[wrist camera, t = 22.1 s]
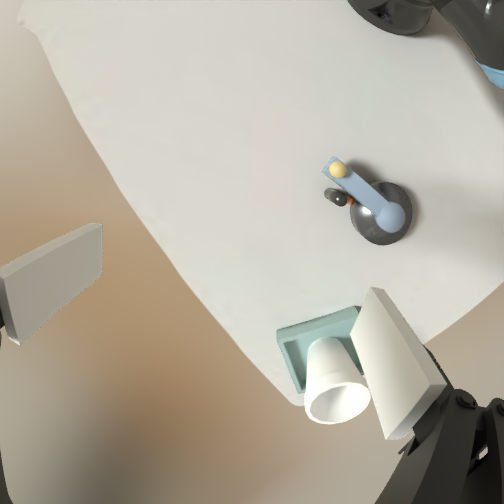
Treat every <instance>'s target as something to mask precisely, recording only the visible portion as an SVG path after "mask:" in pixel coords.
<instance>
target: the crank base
mask: <svg viewBox="0 0 504 504" xmlns="http://www.w3.org/2000/svg"><path fill="white" fill-rule="evenodd" d="M368 184H369V185H370V186H371V187H372V188H373V189H374V190H376V191H377V192H378V193H379V194H380V195H381V196H382V197H383V198H384V199H385V200H387V201H391V202H394V203H396V204H399V205H400V206H401V207H402V208H403V210H404V212H405V222H404V225H403V226H402V228H401V229H400V230H399V231H397V232H394V233H389V232H386V231H385V230H383V229H382V228H380V227H379V226H378V225H377V224H376V223H375V220H374V214H373V213H371V212H370V211H369V210H368V209H367V208H366V207H364V206H363V205H362V204H361V203H360V202H359V201H357V200H356V199H355V198H354V197H353V198H352V197H349V196H346V195H345V194H343V193H341V192H338V191H336V190H334V189H332V188H328V189H326V191H325V193H324V194H325V197H326V198H327V199H329V200H330V201H332V202H333V203H335V204H336V205H338V206H344V205H346V203H348V204H351V207H350V215H351V220H352V223H353V225H354V227H355V229H356V230H357V231H358V232H359V233H360V234H361V235H362V236H363V237H365V238H366V239H367V240H368V241H370V242H371V243H374V244H377V245H389V244H392V243H395V242H396V241H398V240H399V239H401V238H402V237H403V236H404V234H405V233H406V232H407V230H408V228H409V226H410V223H411V219H412V206H411V202H410V199H409V197H408V195H407V194H406V192H405V191H404V190H403V189H402V188H400V187H399V186H397V185H395V184H393V183H388V182H384V181H372V182H369V183H368Z"/></svg>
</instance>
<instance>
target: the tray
mask: <svg viewBox="0 0 504 504" xmlns="http://www.w3.org/2000/svg"><path fill="white" fill-rule="evenodd" d="M358 315H359V313H358V311H357V309H356V308H355V306H352V307H349V308H346V309H343V310H340V311H337V312H334V313H331V314H328V315H325V316H322V317H319V318H316V319H313V320H309V321H306V322H303V323H299V324H296V325H293V326H289V327H286V328H282V329H279V330H277V342H278V345H279V347H280V350H281V352H282V354H283V357H284V359H285V362H286V364H287V367H288V369H289V372H290V374H291V377H292V379H293V382H294V384H295V387H296V389H297V392H298V394H301V393H305V392H306V377H307V355H308V349H309V347H310V346H311V344H312V343H313V342H314V341H316V340H318V339H319V338H323V337H333V338H336V339H338V340H339V341H340V342H341V343H342V344H343V346H344V348H345V349H346V351H347V353H348V354H349V356H350V358H351V359H352V361H353V362H354V364H355V366H356V367H357V369H358V371H359V372H360V374H361V375H364V371H363V369H362V366H361V363H360V360H359V357H358V355H357V352H356V349H355V346H354V344H353V341H352V338H351V336H350V333H351V331H352V328H353V326H354V324H355V322H356V319H357V317H358Z"/></svg>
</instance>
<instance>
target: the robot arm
mask: <svg viewBox="0 0 504 504" xmlns="http://www.w3.org/2000/svg"><path fill="white" fill-rule="evenodd" d="M348 2H349V3H350V5H351V6H352V7H353V9H354V10H355V11H356V12H357V13H358V14H359V15H361V16H362V17H363V18H364V19H366V20H367V21H368V22H370V23H371V24H373V25H375V26H377V27H378V28H381V29H383V30H385V31H388V32H391V33H394V34H400V35H410V34H414V33H416V32H418V31H420V30H421V29H422V28H424V27H425V26H426V24H427V23H428V21H429V18H430V14H431V12H432V9H433V7H435V8H436V9H437V10H438V11H439V12H440V14H441V15H442V16H443V17H444V18H445V19H446V21H447V22H448V23H449V24H450V25H451V27H452V28H453V29H454V30H455V32H456V33H457V34H458V36H459V37H460V38H461V40H462V41H463V42H464V44H465V45H466V47H467V48H468V49H469V51H470V52H471V54H472V55H473V57H474V60H475V62H476V63H477V64H478V65H480V67H481V68H482V70H483V71H484V73H485V74H486V76H487V77H488V79H489V80H490V81H491V82H492V83H493V84H494V85H496V86H497V87H499V88H501V89H504V0H348ZM102 237H103V225H100V224H97V223H92V222H90V223H88V224H86V225H84V226H82V227H79V228H77V229H75V230H73V231H71V232H69V233H67V234H64V235H62V236H60V237H58V238H56V239H54V240H52V241H50V242H48V243H46V244H44V245H42V246H40V247H38V248H36V249H34V250H32V251H30V252H28V253H26V254H24V255H22V256H20V257H19V258H17V259H15V260H13V261H12V262H9V263H8V264H6V265H4V266H2V267H1V268H0V328H2V327H3V326H4V325H5V328H6V332H7V335H8V338H9V339H11V340H12V341H14V342H15V343H17V344H18V345H20V346H21V345H22V344H23V343H24V342H25V341H26V340H27V339H28V338H29V337H30V336H31V335H33V334H34V333H35V332H36V331H37V330H38V329H39V328H40V327H41V326H42V325H44V324H45V323H46V322H47V321H48V320H49V319H50V318H51V317H53V316H54V315H55V314H56V313H57V312H58V311H60V310H61V309H62V308H63V307H64V306H65V305H67V304H68V303H69V302H70V301H71V300H72V299H74V298H75V297H76V296H77V295H79V293H81V292H82V291H83V290H85V289H86V288H87V287H88V286H89V285H91V284H92V283H93V282H94V281H96V280H97V279H98V278H99V277H101V276H102ZM350 336H351V338H352V341H353V344H354V346H355V349H356V352H357V355H358V357H359V360H360V363H361V366H362V369H363V371H364V374H365V377H366V380H367V383H368V386H369V389H370V392H371V395H372V398H373V401H374V404H375V407H376V410H377V413H378V417H379V420H380V423H381V426H382V430H383V433H384V436H385V439H386V440H390V439H402V438H404V437H405V435H406V434H407V433H408V432H409V431H410V430H411V429H412V428H413V431H414V433H415V436H414V437H413V438H412V439H411V440H410V441H409V442H408V443H407V444H406V445H405V446H404V447H403V448H402V449H401V450H400V451H399V452H398V454H401V453H402V452H403V451H405V452H404V454H403V456H402V458H401V460H400V462H399V463H398V465H397V467H396V469H395V471H394V473H393V474H392V476H391V478H390V480H389V481H388V483H387V485H386V487H385V488H384V490H383V491H382V493H381V494H380V496H379V498H378V499H377V501H376V502H375V504H504V400H502V399H500V398H495V399H493V400H492V401H491V402H490V404H489V405H488V406H487V407H486V408H485V407H480V406H478V404H477V402H476V400H475V399H474V397H473V396H472V395H470V394H469V393H468V392H466V391H464V390H462V389H455V390H454V388H453V386H452V385H451V383H450V381H449V380H448V378H447V376H446V375H445V373H444V372H443V370H442V369H440V365H439V364H438V362H436V359H435V358H434V356H433V354H432V353H431V352H430V351H429V350H428V349H427V348H426V347H425V346H424V345H423V344H422V343H421V342H420V340H419V339H418V337H417V336H416V334H415V333H414V331H413V330H412V328H411V327H410V326H409V324H408V323H407V321H406V320H405V318H404V317H403V316H402V314H401V313H400V311H399V310H398V309H397V307H396V306H395V304H394V303H393V302H392V300H391V299H390V297H389V296H388V295H387V293H386V292H385V291H384V290H383V289H379V288H374V287H370V288H369V291H368V293H367V296H366V298H365V301H364V303H363V306H362V308H361V310H360V313H359V315H358V317H357V319H356V322H355V324H354V326H353V328H352V331H351V333H350ZM1 338H2V337H1V332H0V346H1ZM486 447H488V453H487V454H486V455H485V456H484V457H483V458H482V459H479V454H480V453H481V452H482V451H483V450H484V449H485V448H486ZM0 504H13V503H12V501H11V499H10V497H9V495H8V491H7V487H6V482H5V477H4V472H3V466H2V460H1V452H0Z"/></svg>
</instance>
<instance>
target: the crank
mask: <svg viewBox="0 0 504 504" xmlns="http://www.w3.org/2000/svg"><path fill="white" fill-rule="evenodd" d="M321 172H323V173H324V174H325V175H327V176H328V177H329V178H330V179H332V180H333V181H334V182H336V183H337V184H338V185H339V186H340V187H342V188H343V189H344V190H345V191H347V192H348V193H349V194H350V195H351V196H353V197H354V198H355V199H356V200H357V201H359V202H360V203H361V204H362V205H363V206H364V207H366V208H367V209H368V210H369V211H370V212H371V213H373V214H374V220H375V223H376V224H377V225H378V226H379V227H380V228H382V229H383V230H385V231H386V232H389V233H394V232H397V231H399V230H400V229H401V228H402V226H403V225H404V222H405V212H404V210H403V208H402V207H401V206H400V205H399V204H396V203H394V202H391V201H387V200H385V199H384V198H383V197H382V196H381V195H380V194H379V193H378V192H377V191H376V190H374V189H373V188H372V187H371V186H370V185H369V184H368V183H366V182H365V181H364V180H363V179H362V178H361V177H360V176H358V175H357V174H356V173H355V172H354V171H352V170H351V169H350V168H349V167H348V166H346V165H345V164H344V163H343V162H341V161H340V160H339V159H338V158H336V157H332V158H331V159H330V161H329V162H328V163H327V165H326V166H325V167H324V169H323V170H322V171H321Z"/></svg>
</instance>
